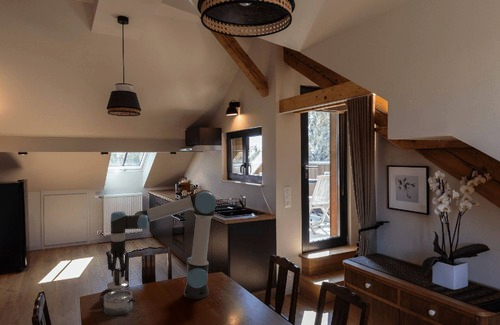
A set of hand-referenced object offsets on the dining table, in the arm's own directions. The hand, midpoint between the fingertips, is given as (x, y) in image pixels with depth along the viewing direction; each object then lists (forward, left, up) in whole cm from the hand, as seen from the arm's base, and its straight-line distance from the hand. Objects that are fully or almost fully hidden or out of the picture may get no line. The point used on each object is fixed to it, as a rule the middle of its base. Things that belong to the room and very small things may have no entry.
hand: (118, 282), depth 190 cm
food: (+11, -15, -15) cm, 24 cm away
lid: (0, 0, -2) cm, 2 cm away
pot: (0, 0, -15) cm, 15 cm away
